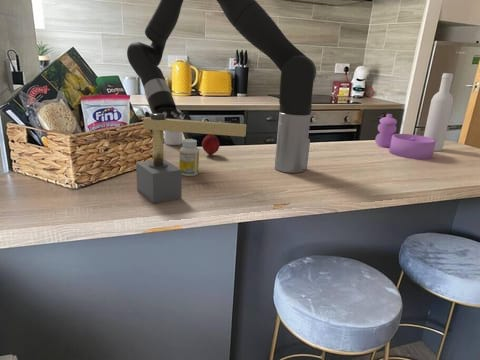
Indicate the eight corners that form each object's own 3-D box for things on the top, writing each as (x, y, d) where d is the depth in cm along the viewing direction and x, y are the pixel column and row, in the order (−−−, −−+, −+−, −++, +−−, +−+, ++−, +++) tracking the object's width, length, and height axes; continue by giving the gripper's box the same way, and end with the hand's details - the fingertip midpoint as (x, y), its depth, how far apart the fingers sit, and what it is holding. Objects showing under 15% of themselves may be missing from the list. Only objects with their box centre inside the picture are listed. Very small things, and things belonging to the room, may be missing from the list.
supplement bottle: (188, 177, 104) (188, 143, 101) (175, 173, 108) (175, 139, 104) (202, 173, 108) (203, 140, 105) (189, 169, 111) (190, 137, 108)
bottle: (426, 145, 162) (442, 72, 152) (445, 150, 156) (463, 74, 147) (417, 148, 157) (433, 72, 147) (436, 152, 151) (454, 74, 142)
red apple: (222, 154, 130) (223, 131, 127) (213, 158, 125) (214, 134, 122) (207, 152, 132) (207, 129, 129) (198, 155, 127) (199, 132, 124)
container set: (441, 158, 142) (449, 123, 138) (412, 161, 136) (419, 124, 132) (390, 143, 164) (396, 112, 160) (363, 145, 157) (368, 113, 153)
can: (184, 142, 144) (184, 110, 140) (179, 146, 138) (180, 113, 134) (167, 141, 145) (167, 109, 141) (162, 144, 138) (162, 111, 135)
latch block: (163, 185, 97) (163, 158, 95) (181, 198, 90) (181, 169, 87) (137, 189, 93) (136, 161, 91) (153, 203, 86) (152, 172, 83)
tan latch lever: (243, 170, 89) (246, 119, 85) (242, 174, 86) (245, 121, 82) (148, 162, 91) (147, 112, 87) (143, 166, 88) (142, 114, 84)
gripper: (140, 89, 109) (157, 137, 104) (184, 89, 117) (202, 133, 112) (133, 105, 115) (149, 151, 110) (176, 104, 123) (193, 147, 118)
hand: (176, 142), depth 111 cm, fingers open, 8 cm apart
